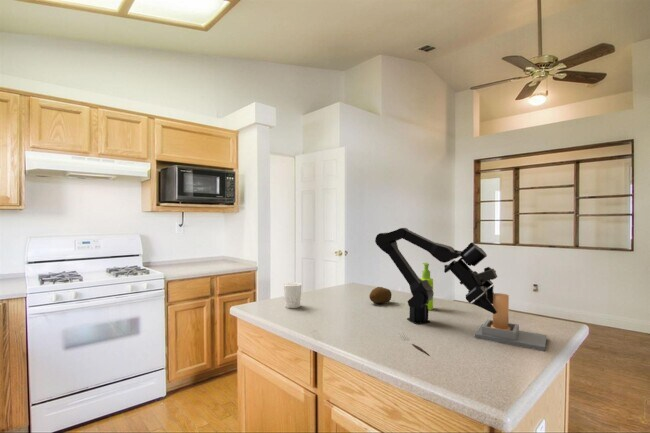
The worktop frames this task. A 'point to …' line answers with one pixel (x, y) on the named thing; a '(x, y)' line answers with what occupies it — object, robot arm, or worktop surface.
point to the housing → (511, 336)
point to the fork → (413, 344)
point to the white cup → (292, 295)
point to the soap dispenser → (427, 277)
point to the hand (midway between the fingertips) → (498, 310)
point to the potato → (380, 295)
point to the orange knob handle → (501, 311)
